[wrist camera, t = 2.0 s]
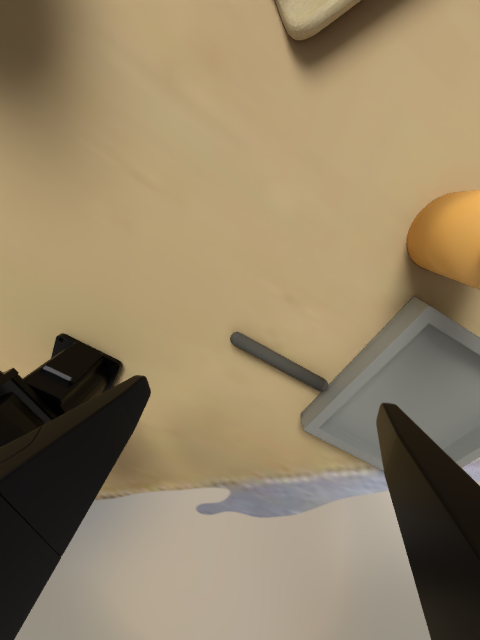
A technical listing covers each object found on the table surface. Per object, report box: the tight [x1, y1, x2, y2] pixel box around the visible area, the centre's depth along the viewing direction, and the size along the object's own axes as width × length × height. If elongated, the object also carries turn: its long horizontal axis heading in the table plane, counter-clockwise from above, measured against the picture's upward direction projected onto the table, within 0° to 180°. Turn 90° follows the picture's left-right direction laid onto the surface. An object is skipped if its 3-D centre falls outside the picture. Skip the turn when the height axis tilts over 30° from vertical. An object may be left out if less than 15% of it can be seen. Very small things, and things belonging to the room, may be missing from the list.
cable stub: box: [230, 332, 328, 391], centre depth 22 cm, size 1×10×1 cm, turn 60°
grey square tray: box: [301, 297, 480, 471], centre depth 22 cm, size 15×15×2 cm
